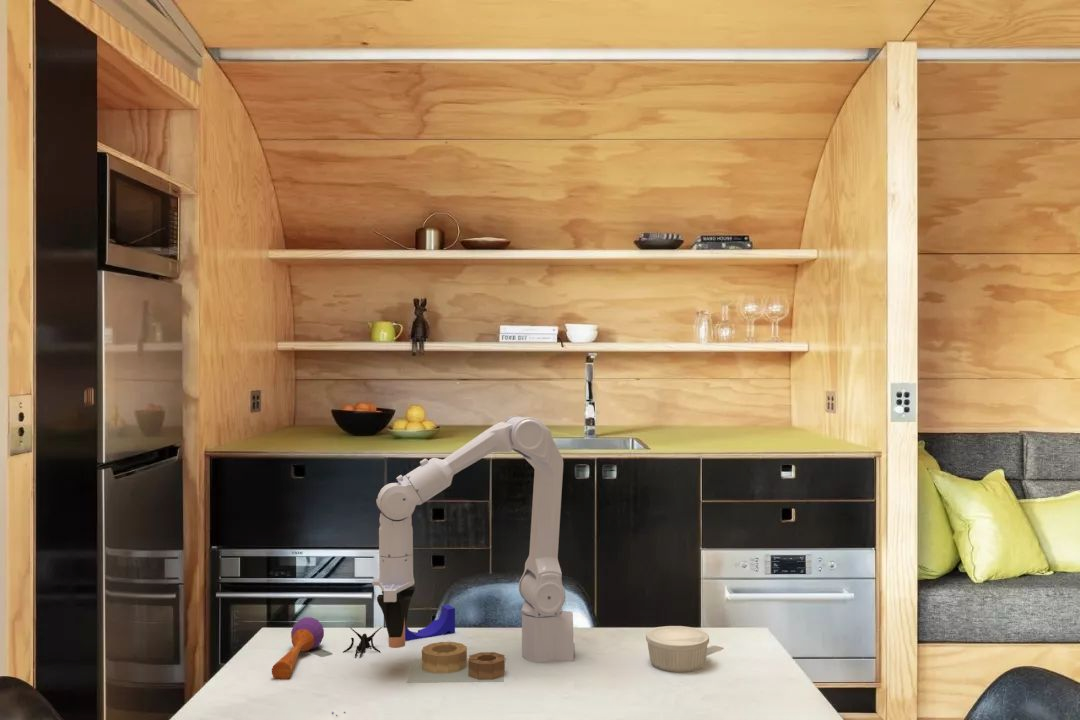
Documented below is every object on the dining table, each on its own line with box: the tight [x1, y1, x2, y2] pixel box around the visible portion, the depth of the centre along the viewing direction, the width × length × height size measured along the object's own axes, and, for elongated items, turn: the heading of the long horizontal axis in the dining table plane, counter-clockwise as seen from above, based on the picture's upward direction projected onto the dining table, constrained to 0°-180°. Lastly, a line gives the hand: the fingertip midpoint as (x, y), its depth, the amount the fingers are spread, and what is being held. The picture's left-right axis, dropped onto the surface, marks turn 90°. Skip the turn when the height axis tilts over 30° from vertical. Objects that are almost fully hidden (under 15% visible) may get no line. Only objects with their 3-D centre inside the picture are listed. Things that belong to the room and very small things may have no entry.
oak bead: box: [421, 641, 468, 674], centre depth 152 cm, size 8×8×3 cm
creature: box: [341, 626, 383, 659], centre depth 160 cm, size 8×5×8 cm
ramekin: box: [645, 625, 710, 673], centre depth 156 cm, size 11×11×5 cm
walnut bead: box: [468, 651, 506, 680], centre depth 148 cm, size 6×6×3 cm
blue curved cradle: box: [405, 604, 456, 642], centre depth 171 cm, size 12×4×6 cm, turn 119°
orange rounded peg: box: [388, 620, 406, 649], centre depth 150 cm, size 3×3×7 cm
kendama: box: [271, 616, 325, 680], centre depth 159 cm, size 6×6×20 cm
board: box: [406, 657, 506, 684], centre depth 150 cm, size 16×12×1 cm
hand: (396, 633), depth 150 cm, fingers closed on orange rounded peg, 3 cm apart
